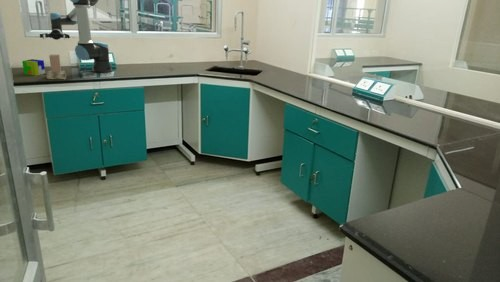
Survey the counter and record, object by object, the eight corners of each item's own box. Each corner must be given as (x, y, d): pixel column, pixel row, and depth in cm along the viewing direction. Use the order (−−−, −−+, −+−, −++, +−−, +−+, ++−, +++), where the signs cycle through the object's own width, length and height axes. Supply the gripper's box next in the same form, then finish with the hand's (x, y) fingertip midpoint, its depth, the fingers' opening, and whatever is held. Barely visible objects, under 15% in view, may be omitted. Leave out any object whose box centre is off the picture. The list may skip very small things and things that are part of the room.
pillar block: (61, 70, 281) (59, 54, 277) (60, 72, 276) (58, 55, 271) (52, 70, 279) (50, 54, 274) (51, 72, 274) (49, 55, 269)
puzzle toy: (45, 73, 291) (43, 60, 288) (35, 75, 282) (34, 62, 278) (33, 72, 293) (32, 59, 289) (24, 74, 284) (22, 61, 280)
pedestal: (66, 76, 286) (65, 70, 284) (65, 79, 276) (64, 73, 274) (48, 76, 282) (48, 70, 280) (47, 79, 271) (46, 73, 270)
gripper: (74, 39, 304) (72, 42, 286) (39, 38, 295) (35, 42, 277) (73, 29, 302) (71, 32, 283) (37, 29, 293) (34, 31, 274)
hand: (54, 37), depth 280 cm, fingers open, 13 cm apart
